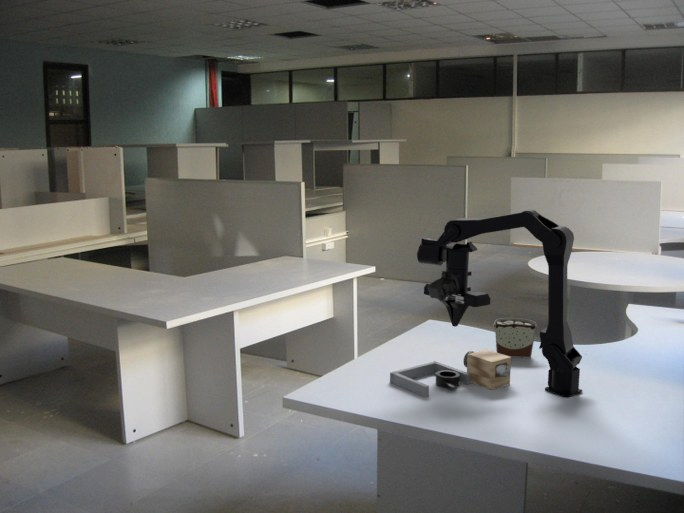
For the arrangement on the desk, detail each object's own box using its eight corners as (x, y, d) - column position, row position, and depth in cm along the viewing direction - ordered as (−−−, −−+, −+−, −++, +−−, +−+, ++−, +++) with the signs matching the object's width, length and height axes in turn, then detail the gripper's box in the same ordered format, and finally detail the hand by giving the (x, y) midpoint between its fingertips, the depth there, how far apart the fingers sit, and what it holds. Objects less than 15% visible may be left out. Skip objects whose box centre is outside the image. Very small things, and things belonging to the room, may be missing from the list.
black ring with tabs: (425, 388, 171) (425, 377, 170) (439, 376, 180) (439, 366, 179) (455, 394, 167) (456, 382, 167) (468, 381, 176) (469, 370, 176)
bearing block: (509, 384, 174) (511, 357, 173) (490, 389, 170) (492, 362, 168) (485, 375, 180) (486, 349, 179) (466, 380, 176) (467, 354, 175)
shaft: (511, 378, 171) (512, 361, 171) (499, 382, 169) (500, 364, 168) (474, 366, 181) (475, 349, 180) (463, 369, 178) (463, 352, 177)
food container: (532, 351, 201) (534, 317, 199) (536, 358, 195) (538, 323, 193) (489, 349, 202) (490, 316, 200) (491, 356, 196) (493, 321, 194)
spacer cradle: (470, 383, 174) (470, 373, 173) (425, 396, 164) (425, 386, 164) (434, 370, 184) (435, 361, 183) (389, 382, 174) (390, 372, 174)
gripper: (409, 265, 182) (407, 323, 185) (462, 276, 168) (459, 339, 170) (439, 261, 189) (437, 317, 191) (493, 271, 174) (490, 332, 177)
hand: (454, 326), depth 182 cm, fingers closed
